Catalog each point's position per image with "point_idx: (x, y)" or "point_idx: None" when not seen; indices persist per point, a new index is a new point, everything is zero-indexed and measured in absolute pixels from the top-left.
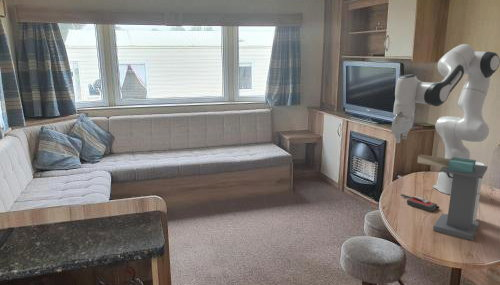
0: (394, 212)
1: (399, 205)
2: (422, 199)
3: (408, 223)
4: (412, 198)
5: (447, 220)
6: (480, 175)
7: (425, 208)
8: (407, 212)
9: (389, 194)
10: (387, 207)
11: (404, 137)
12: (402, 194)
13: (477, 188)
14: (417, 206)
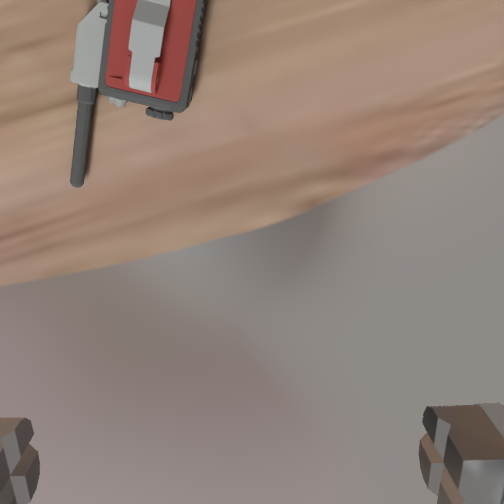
0: (353, 131)
1: (229, 143)
2: (153, 18)
3: (467, 14)
4: (157, 89)
5: None
6: None
7: None
8: (308, 70)
9: (94, 247)
10: (304, 187)
11: (9, 469)
12: (77, 178)
13: None
14: (198, 41)
